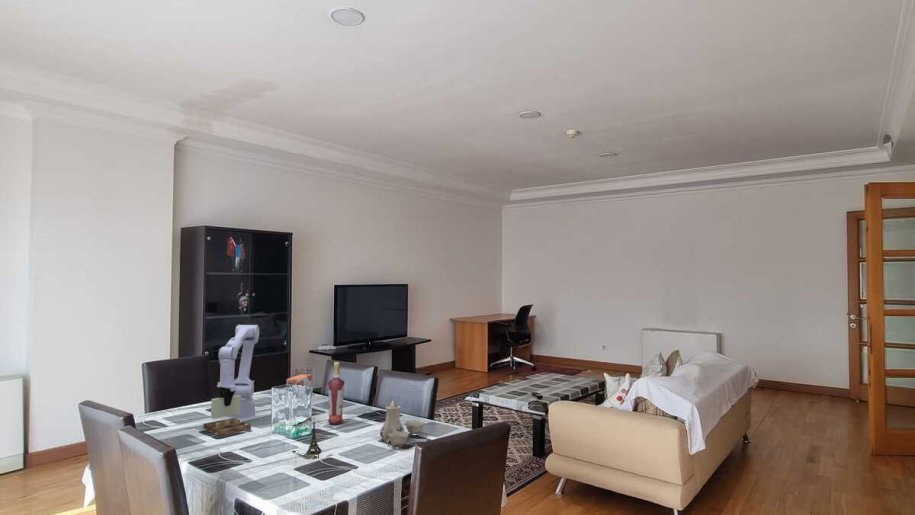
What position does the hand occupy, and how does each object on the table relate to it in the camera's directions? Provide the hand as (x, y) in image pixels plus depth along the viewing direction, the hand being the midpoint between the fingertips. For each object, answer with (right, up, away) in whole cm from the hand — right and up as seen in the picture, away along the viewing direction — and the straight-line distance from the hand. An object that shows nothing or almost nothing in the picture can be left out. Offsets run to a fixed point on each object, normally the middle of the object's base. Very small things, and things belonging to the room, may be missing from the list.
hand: (226, 405), depth 233 cm
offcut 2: (+2, -10, +2) cm, 10 cm away
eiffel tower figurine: (+46, -11, -30) cm, 56 cm away
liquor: (+45, -12, +12) cm, 48 cm away
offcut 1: (0, -10, -3) cm, 10 cm away
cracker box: (+27, -12, +14) cm, 33 cm away
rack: (0, -11, -1) cm, 11 cm away
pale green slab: (0, -5, 0) cm, 4 cm away
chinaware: (+77, -12, -12) cm, 79 cm away
